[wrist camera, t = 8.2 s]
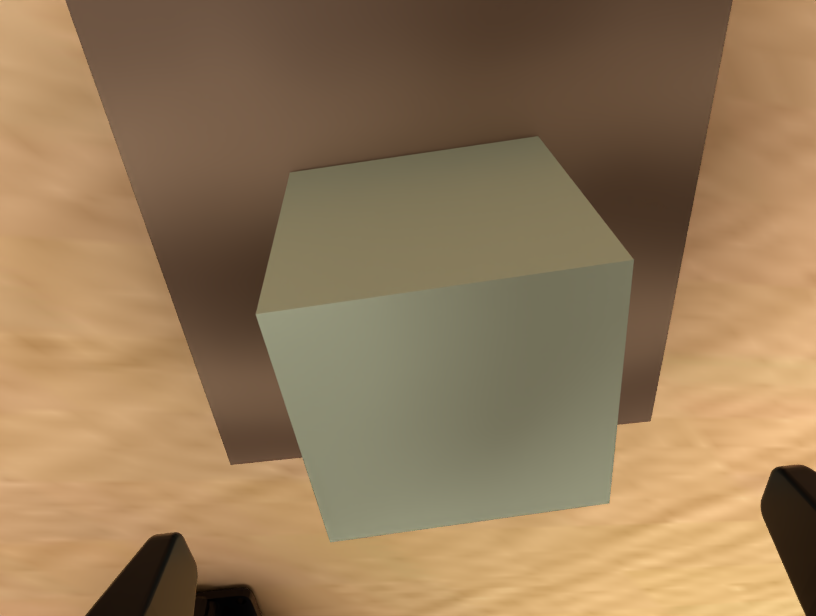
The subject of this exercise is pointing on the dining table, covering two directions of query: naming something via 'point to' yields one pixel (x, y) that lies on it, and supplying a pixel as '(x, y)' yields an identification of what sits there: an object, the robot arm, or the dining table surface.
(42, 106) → the dining table surface
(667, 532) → the dining table surface
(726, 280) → the dining table surface
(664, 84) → the walnut box
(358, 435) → the sage cube
